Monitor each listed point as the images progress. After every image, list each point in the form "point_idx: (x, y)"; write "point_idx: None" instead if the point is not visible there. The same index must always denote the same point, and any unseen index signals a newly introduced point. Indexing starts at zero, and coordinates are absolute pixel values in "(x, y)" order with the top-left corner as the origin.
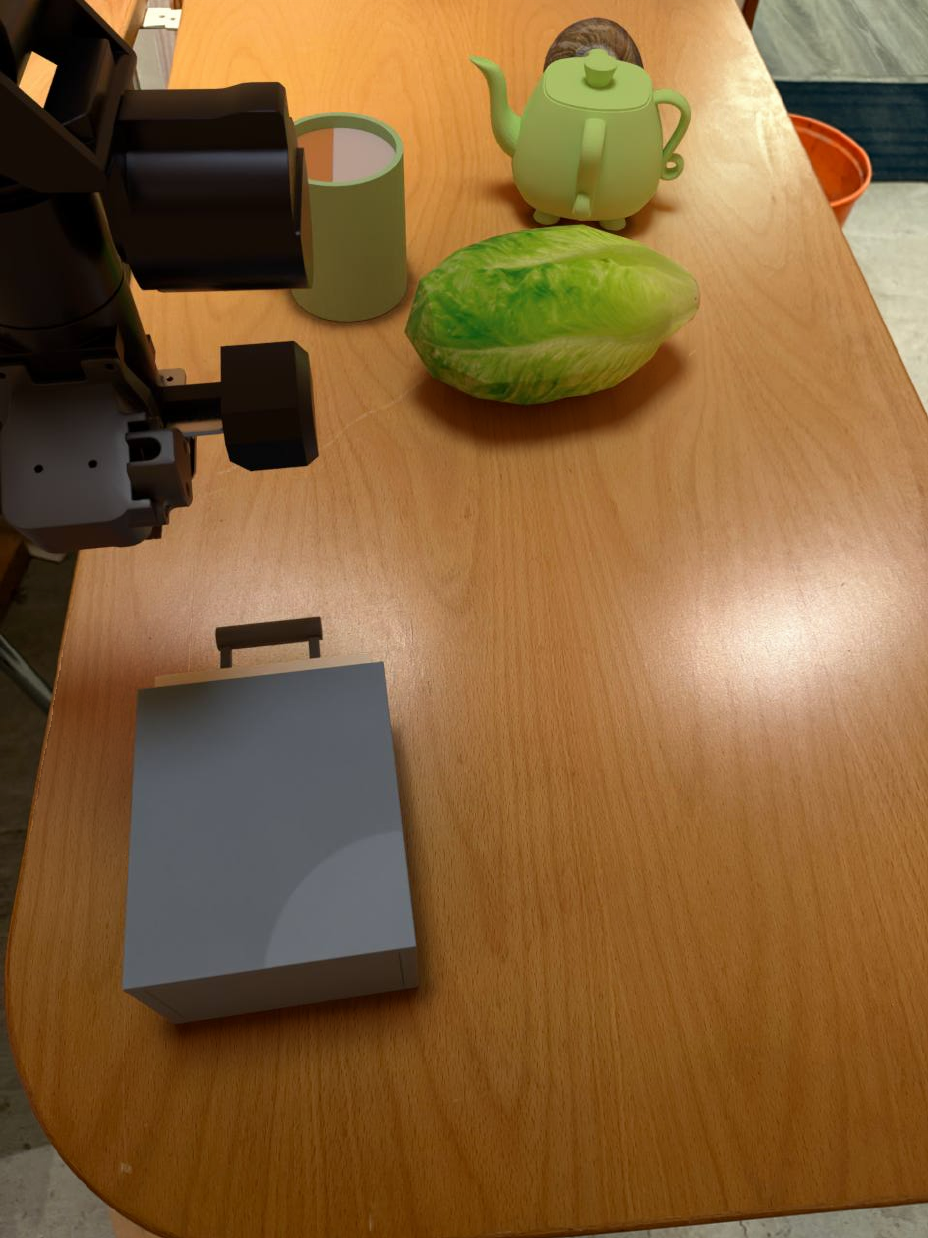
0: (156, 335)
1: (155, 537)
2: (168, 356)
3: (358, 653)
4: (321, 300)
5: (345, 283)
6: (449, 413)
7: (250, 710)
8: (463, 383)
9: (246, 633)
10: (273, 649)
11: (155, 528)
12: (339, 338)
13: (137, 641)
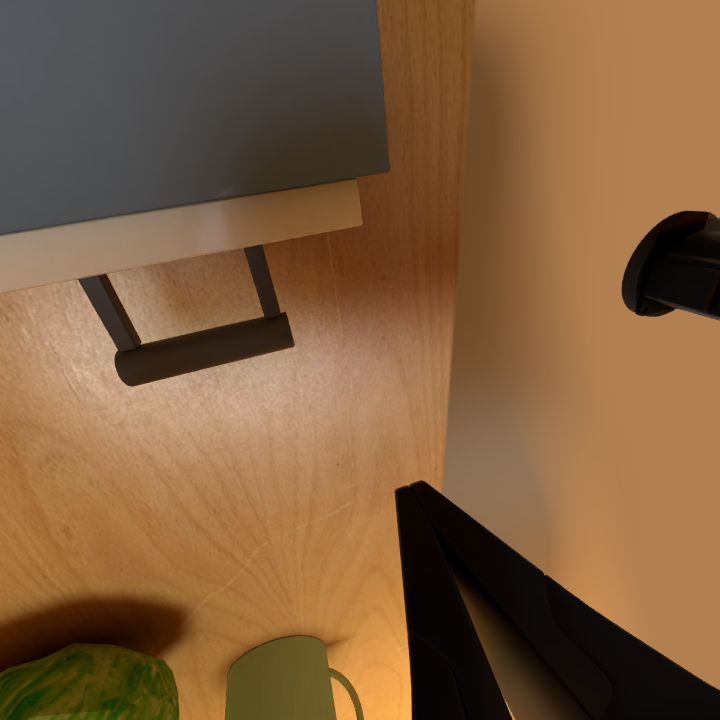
0: None
1: (406, 491)
2: None
3: None
4: (293, 658)
5: (270, 692)
6: (140, 610)
7: (90, 94)
8: (88, 686)
9: (242, 341)
10: None
11: (412, 522)
12: (273, 628)
13: (395, 333)
